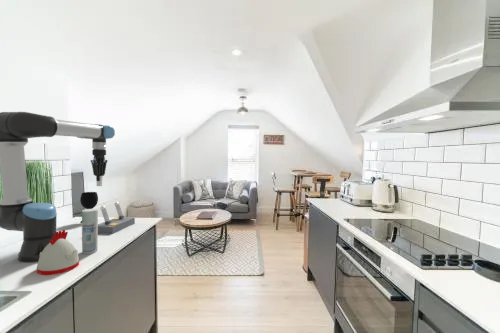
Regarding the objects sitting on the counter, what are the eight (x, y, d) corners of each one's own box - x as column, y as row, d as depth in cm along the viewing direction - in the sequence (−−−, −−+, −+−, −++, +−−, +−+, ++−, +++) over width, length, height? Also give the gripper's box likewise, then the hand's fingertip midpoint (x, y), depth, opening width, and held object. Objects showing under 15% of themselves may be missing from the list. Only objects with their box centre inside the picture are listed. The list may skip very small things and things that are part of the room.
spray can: (79, 254, 120) (79, 211, 119) (84, 249, 126) (84, 208, 125) (95, 253, 121) (95, 211, 121) (99, 248, 128) (99, 208, 127)
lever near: (108, 223, 156) (102, 205, 156) (104, 225, 156) (98, 207, 156) (111, 222, 159) (105, 204, 159) (107, 223, 159) (101, 206, 159)
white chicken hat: (86, 261, 112) (86, 227, 112) (60, 276, 98) (60, 237, 98) (57, 259, 113) (57, 226, 113) (27, 273, 100) (26, 235, 99)
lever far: (122, 218, 170) (116, 201, 170) (118, 219, 170) (112, 203, 170) (125, 217, 173) (119, 201, 173) (121, 218, 173) (115, 202, 173)
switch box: (112, 233, 152) (112, 226, 152) (93, 232, 153) (93, 225, 153) (134, 223, 176) (134, 217, 176) (118, 222, 177) (118, 216, 177)
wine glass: (81, 220, 182) (81, 192, 181) (98, 219, 186) (98, 191, 185) (79, 223, 172) (79, 194, 172) (97, 222, 177) (97, 193, 176)
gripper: (97, 148, 157) (97, 187, 158) (111, 149, 170) (111, 185, 171) (86, 148, 158) (86, 187, 159) (100, 149, 171) (100, 184, 172)
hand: (99, 186), depth 165 cm, fingers closed
